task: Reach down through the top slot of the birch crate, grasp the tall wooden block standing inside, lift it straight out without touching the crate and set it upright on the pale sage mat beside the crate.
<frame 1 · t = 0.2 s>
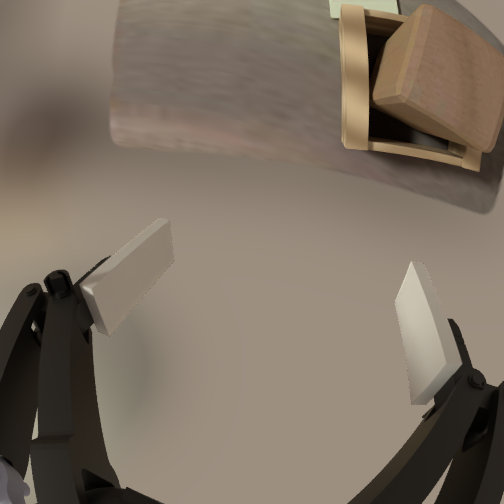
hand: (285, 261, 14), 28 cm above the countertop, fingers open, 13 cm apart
crate: (402, 88, 28), on the countertop
wooden block: (402, 88, 29), resting in crate
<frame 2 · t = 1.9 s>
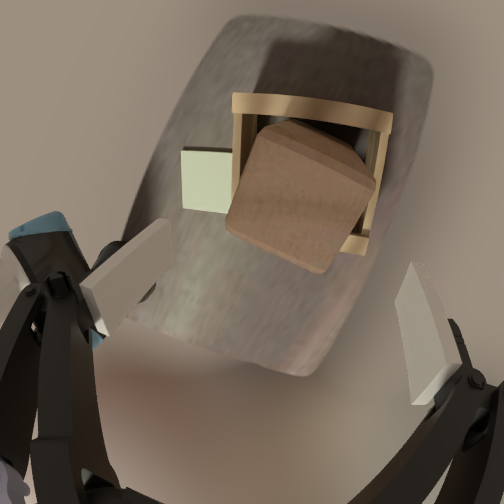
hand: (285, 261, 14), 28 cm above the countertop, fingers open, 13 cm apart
crate: (309, 161, 38), on the countertop
mat: (211, 181, 43), on the countertop
wooden block: (309, 160, 38), resting in crate
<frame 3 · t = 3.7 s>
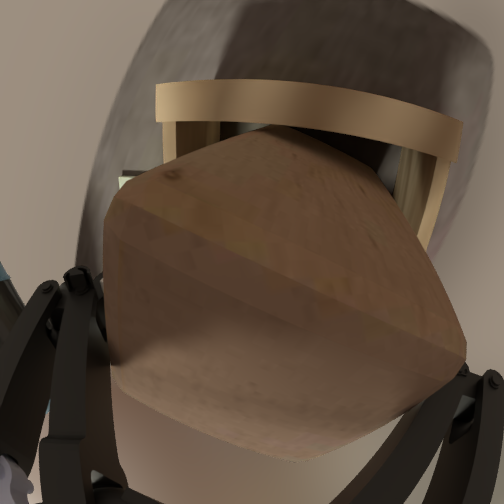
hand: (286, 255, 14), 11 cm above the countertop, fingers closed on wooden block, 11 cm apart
crate: (304, 193, 24), on the countertop
wooden block: (304, 192, 24), resting in crate, touching gripper
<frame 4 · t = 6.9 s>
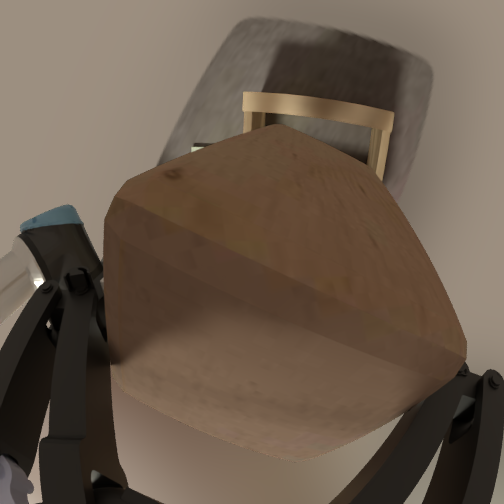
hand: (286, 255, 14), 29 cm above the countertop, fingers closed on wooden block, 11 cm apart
crate: (314, 157, 39), on the countertop
wooden block: (304, 192, 24), point 18 cm above the countertop, touching gripper
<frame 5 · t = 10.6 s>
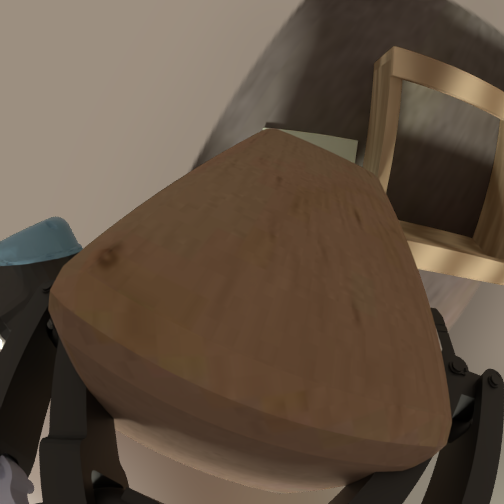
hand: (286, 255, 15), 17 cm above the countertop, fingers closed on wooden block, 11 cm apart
crate: (439, 161, 24), on the countertop
mat: (306, 177, 29), on the countertop
wooden block: (302, 199, 23), point 8 cm above the countertop, touching crate, gripper
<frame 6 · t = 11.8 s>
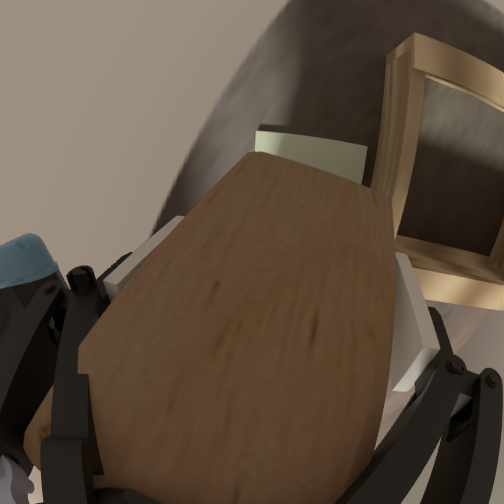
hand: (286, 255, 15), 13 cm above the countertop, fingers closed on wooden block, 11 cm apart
crate: (459, 171, 20), on the countertop
mat: (306, 188, 25), on the countertop
wooden block: (306, 222, 20), point 7 cm above the countertop, touching crate, gripper, hand
when the fingers open (13 cm above the countertop, at t = 12.6 s): wooden block drops 6 cm, resting on mat.
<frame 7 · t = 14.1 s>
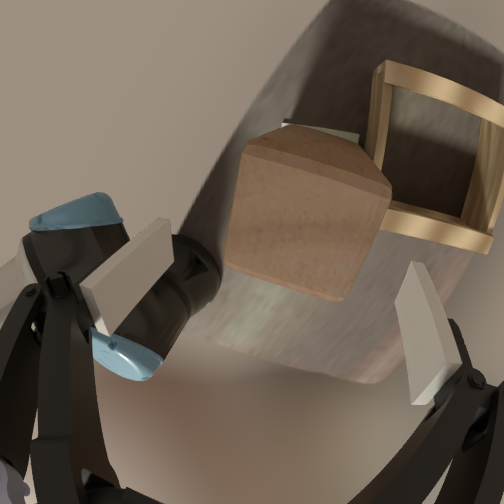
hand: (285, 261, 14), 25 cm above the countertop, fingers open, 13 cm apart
crate: (428, 151, 29), on the countertop
mat: (316, 163, 34), on the countertop
wooden block: (316, 167, 34), resting on mat
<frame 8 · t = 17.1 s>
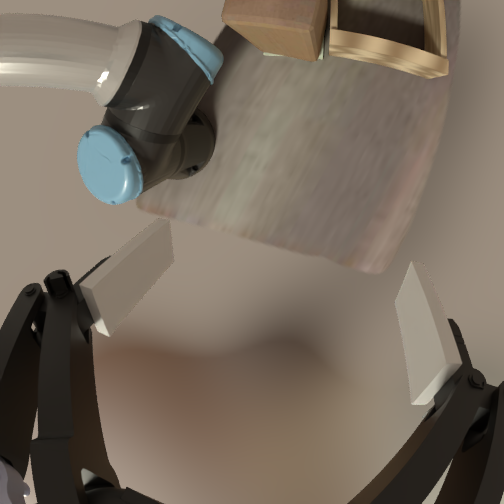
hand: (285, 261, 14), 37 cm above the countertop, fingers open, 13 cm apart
crate: (382, 21, 29), on the countertop
wooden block: (294, 33, 34), resting on mat
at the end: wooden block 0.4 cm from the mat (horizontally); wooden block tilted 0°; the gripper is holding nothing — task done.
